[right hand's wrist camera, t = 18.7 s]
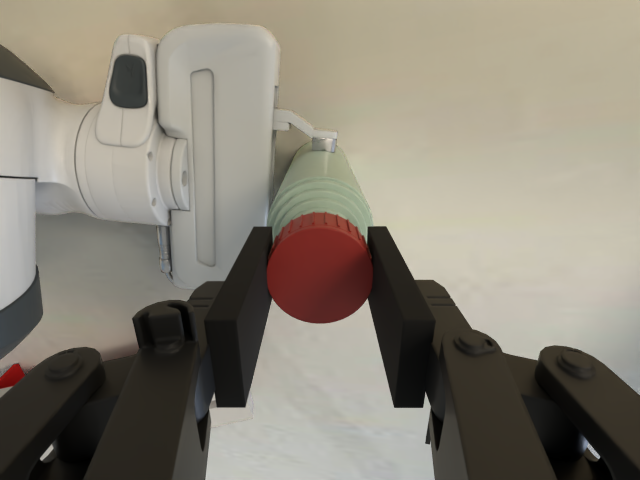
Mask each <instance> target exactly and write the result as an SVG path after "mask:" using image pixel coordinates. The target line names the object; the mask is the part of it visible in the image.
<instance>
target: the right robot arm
mask: <svg viewBox="0 0 640 480" xmlns="http://www.w3.org/2000/svg"><path fill="white" fill-rule="evenodd" d="M272 245H273V234H272V226H254V227H253V229H252V230H251V232H250V234H249V236H248V238H247V240H246V242H245V244H244V246H243V247H242V249H241V251H240V253H239V255H238V257H237V259H236V261H235V263H234V264H233V266H232V268H231V270H230V272H229V274H228V276H227V278H226V279H225V281H206V282H205V283H203V284H202V285H200V286H199V287H197V288H196V289H195V290H194V292H193V293H192V295H191V296H190V299H189V300H188V301H187V302H185V301H181V300H167V301H162V302H157V303H155V304H152V305H149V306H147V307H145V308H144V309H142V310H140V311H139V312H137V314H136V315H135V316H134V317H133V318H132V320H133V324H134V328H135V332H136V337H137V341H138V345H139V350H138V353H137V354H136V355H132V356H128V357H124V358H119V359H114V360H110V361H105V362H102V359H101V356H100V353H99V352H98V351H97V350H96V349H93V348H88V347H81V348H73V349H68V350H64V351H62V352H59V353H57V354H55V355H53V356H51V357H49V358H47V359H45V360H44V361H42V362H41V363H40V364H38V365H37V366H36V367H34V368H33V369H32V370H31V371H30V372H29V373H28V374H26V375H25V376H24V377H23V378H22V379H21V380H20V381H19V382H17V383H16V384H15V385H14V386H13V387H12V388H11V389H9V390H8V391H7V392H6V393H5V394H4V395H3V396H2V397H0V480H205V477H206V467H207V458H208V448H209V439H210V429H211V417H210V410H209V406H210V403H211V401H212V398H213V395H214V393H215V399H216V406H217V408H246V404H247V400H248V395H249V391H250V387H251V383H252V379H253V375H254V371H255V367H256V362H257V358H258V354H259V350H260V346H261V342H262V338H263V334H264V329H265V325H266V321H267V317H268V313H269V309H270V305H271V301H272V296H271V294H270V292H269V290H268V284H267V265H268V257H269V254H270V251H271V248H272ZM367 245H368V248H369V251H370V254H371V257H372V260H371V261H372V265H373V280H372V289H371V292H370V294H369V296H368V301H369V306H370V310H371V314H372V318H373V322H374V326H375V330H376V334H377V339H378V343H379V347H380V351H381V355H382V359H383V363H384V367H385V372H386V376H387V380H388V384H389V388H390V392H391V396H392V400H393V405H394V408H423V405H424V398H425V391H426V394H427V397H428V400H429V402H430V405H431V410H430V416H429V423H428V429H427V435H426V442H425V444H430V441H431V448H432V457H433V466H434V476H435V480H640V395H639V394H637V393H636V392H635V391H634V390H633V389H632V388H631V387H629V386H628V385H627V384H626V383H625V382H624V381H623V380H622V379H620V378H619V377H618V376H617V375H616V374H615V373H614V372H612V371H611V370H610V369H609V368H608V367H607V366H606V365H604V364H603V363H602V362H600V361H599V360H597V359H596V358H594V357H593V356H591V355H589V354H586V353H584V352H582V351H581V350H578V349H575V348H574V349H573V348H570V347H565V346H555V345H554V346H549V347H545V348H544V349H543V350H542V351H540V355H539V358H538V361H537V360H533V359H528V358H523V357H518V356H514V355H510V354H506V353H503V352H502V350H501V348H500V346H499V345H498V344H497V342H496V341H495V340H494V339H492V338H491V337H489V336H488V335H486V334H484V333H482V332H479V331H477V330H473V329H472V328H471V327H470V325H469V324H468V322H467V321H466V319H465V318H464V316H463V315H462V313H461V312H460V310H459V309H458V307H457V306H455V303H454V301H453V300H452V298H450V295H449V294H448V292H447V291H446V289H445V288H444V287H443V286H441V285H440V284H438V283H437V282H435V281H434V280H414V278H413V276H412V274H411V272H410V271H409V269H408V267H407V265H406V263H405V261H404V259H403V257H402V255H401V254H400V252H399V250H398V248H397V246H396V244H395V242H394V240H393V238H392V237H391V235H390V233H389V231H388V229H387V227H386V226H368V230H367ZM588 443H590V445H591V446H592V447H593V448H594V449H595V451H596V452H597V453H598V454H599V455H600V459H597V458H596V457H595V456H594V455H593V454H592V453H591V452H590V450H589V449H588V448H587V445H588ZM51 444H52V446H53V450H52V451H51V452H50V453H49V455H48V456H47V457H45V458H44V459H43V460H42V461H41V460H40V458H41V456H42V455H43V454H44V453H45V452H46V450H47V449H48V448H49V447H50V446H51Z"/></svg>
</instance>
